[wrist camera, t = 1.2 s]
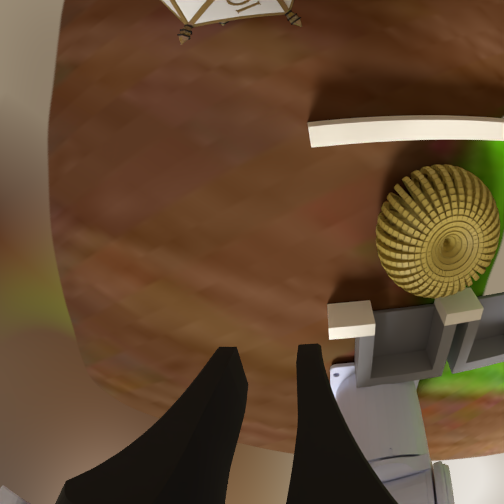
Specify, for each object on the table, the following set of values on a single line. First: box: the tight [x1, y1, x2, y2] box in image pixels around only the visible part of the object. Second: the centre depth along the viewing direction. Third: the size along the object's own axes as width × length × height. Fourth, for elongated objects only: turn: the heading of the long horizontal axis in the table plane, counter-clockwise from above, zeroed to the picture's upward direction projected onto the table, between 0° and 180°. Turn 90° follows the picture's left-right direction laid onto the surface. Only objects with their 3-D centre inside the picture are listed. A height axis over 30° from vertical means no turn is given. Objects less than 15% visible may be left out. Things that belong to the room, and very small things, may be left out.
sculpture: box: [376, 164, 500, 298], centre depth 16 cm, size 8×4×8 cm
